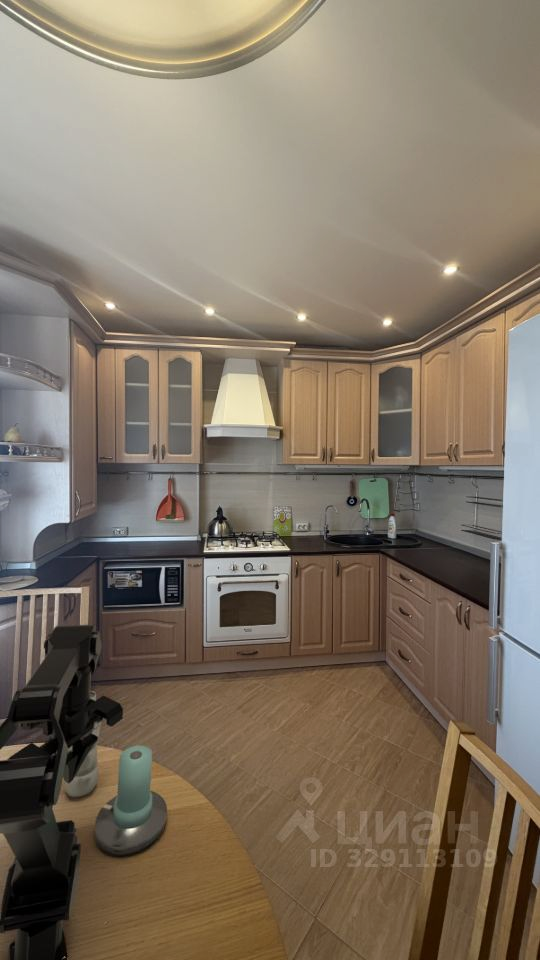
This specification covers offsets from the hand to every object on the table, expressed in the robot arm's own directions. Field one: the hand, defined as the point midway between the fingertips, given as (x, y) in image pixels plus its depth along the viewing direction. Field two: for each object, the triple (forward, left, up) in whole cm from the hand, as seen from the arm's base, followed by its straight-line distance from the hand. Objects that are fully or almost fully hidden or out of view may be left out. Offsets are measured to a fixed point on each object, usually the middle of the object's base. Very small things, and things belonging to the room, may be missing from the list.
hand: (68, 781), depth 69 cm
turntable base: (+1, -12, -14) cm, 18 cm away
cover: (+1, -12, -11) cm, 16 cm away
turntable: (+1, -12, -12) cm, 17 cm away
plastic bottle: (+16, -6, -14) cm, 22 cm away
